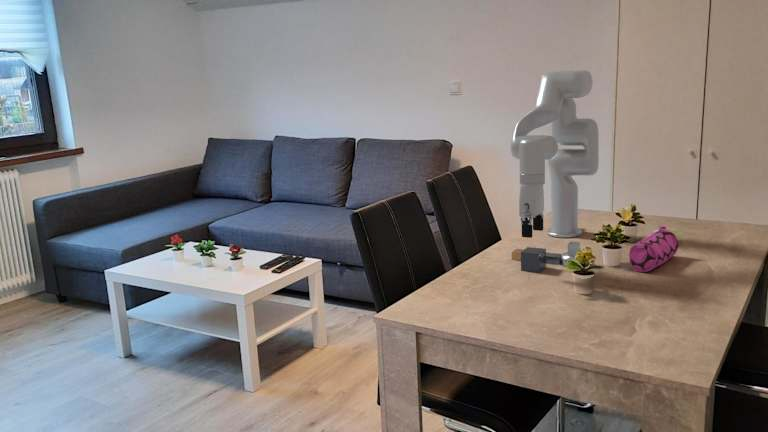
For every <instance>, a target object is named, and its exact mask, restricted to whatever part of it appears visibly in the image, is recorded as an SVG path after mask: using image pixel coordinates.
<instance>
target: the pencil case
mask: <svg viewBox="0 0 768 432" xmlns="http://www.w3.org/2000/svg"><path fill="white" fill-rule="evenodd" d="M658 227H659V228H658V229H656V230H654V231H652V232H651V233H649V234H648V235H646V236H645V237H644V238H643V239H640V241H638V242H635V243H634V244H632V246H631V247H630V249H629V254H628V256H629V257H628V258H629V263H630V265H631V267H632V268H633V269H634V270H635V271H636V272H639V273H640V272H641V273H647V272H650V271H652V270H653V269H656V268H657V267H659V266H661V265H663V264H664V263H666V262H667V261H669V259H671V258H672V257H674V256H675V255H676V253H677V252H678V249H679V241H678V237H677V236H676V234H675V233H673V232H672V231H670V230H668V229H667V227H666V226H665V225H659V226H658Z"/></svg>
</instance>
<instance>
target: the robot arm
mask: <svg viewBox="0 0 768 432" xmlns="http://www.w3.org/2000/svg"><path fill="white" fill-rule="evenodd" d="M537 88H538V89H537V91H536V92H537V93H536V97H535V101H534V105H533V106H534V107H533V109H531V110H529V111H528V112H527V113H526V114H525V115H524V116H522V117H521V119H520V120H518V122H517V123H516V125H515V127H514V130H513V134H512V138H511V141H510V142H511V143H510V153H511V155H512V156H513V158H515V159H517V160H519V185H520V188H519V197H518V198H519V200H518V202H519V203H518V216H519V217H520V222H521V223H520V225H521V237H522V238H530V239H531V238H533V231H540V232H542V231H544V210H545V194H544V193H545V192H544V191H545V190H544V185H545V184H546V160H547V163H548V170H549V177H550V202H551V203H550V210H551V211H550V212H551V214H550V215H551V216H550V219H551V222H550V223H551V225H550V228H548V229H547V231H546V233H547V235H548V236H551V237H555V238H563V239H564V238H565V239H566V238H575V237H579V236H582V234H583V231H582V230H583V229H581V228H579V225H578V224H579V223H578V221H579V214H578V213H579V210H578V209H579V193H578V192H579V187H578V185H577V183H576V181H575V180H574V178H573V177H572V176H582V177H584V176H588V177H589V176H594V175H595V174H596V173H597V172H598V169H599V164H600V163H599V162H600V161H599V160H600V159H599V158H600V157H599V151H600V149H599V148H600V147H599V142H600V141H599V126H598V123H597V122H596V120H594V119H593V118H578V117H577V103H576V102H575V100H574V99H580V98H584V97H586V96H588V95H589V94H590V93H591V91H592V89H593V76H592V74H591V72H590V71H589V70H586V69H584V70H580V69H579V70H561V71H551V72H546V73H544V74H542V75H541V76H540V80H539V84H538V87H537ZM550 123H551V135H546V134H545V135H542V134H541V135H535V134H531V135H529V133H530V132H532V131H534V130H536V129H538V128H540V127H543V126H546V125H548V124H550ZM559 146H570V147H571V146H575V147H576V146H579V147H580V146H582V147H583V148H559Z"/></svg>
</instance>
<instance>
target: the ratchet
mask: <svg viewBox="0 0 768 432" xmlns="http://www.w3.org/2000/svg"><path fill="white" fill-rule="evenodd" d="M524 249H525V248H524ZM524 249H521V248H515V249H514V250H513V251H511V260H513V261H520V262H521V252H522V251H523V250H524ZM578 250H580V251H581V242H580V241H579V242H578V241H569V242H568V243H567V252H564V253H554V252H547V251H546V264H549V263H550V265H551V264H552V265H558V264H560V265H561V266H563V267H565V264H566V262H567V261H568V260H575V254H576V252H577V251H578Z"/></svg>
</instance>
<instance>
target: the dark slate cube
mask: <svg viewBox="0 0 768 432" xmlns="http://www.w3.org/2000/svg"><path fill="white" fill-rule="evenodd" d="M546 252H547V248H540V247H531V246H527V247H526V248H524V250H523V251H522V252H521V261H520V271H522V272H523V271H524V272H530V273H531V272H532V273H541V272H543V271H544V270H545V269H546V268H547V263H546Z"/></svg>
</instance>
